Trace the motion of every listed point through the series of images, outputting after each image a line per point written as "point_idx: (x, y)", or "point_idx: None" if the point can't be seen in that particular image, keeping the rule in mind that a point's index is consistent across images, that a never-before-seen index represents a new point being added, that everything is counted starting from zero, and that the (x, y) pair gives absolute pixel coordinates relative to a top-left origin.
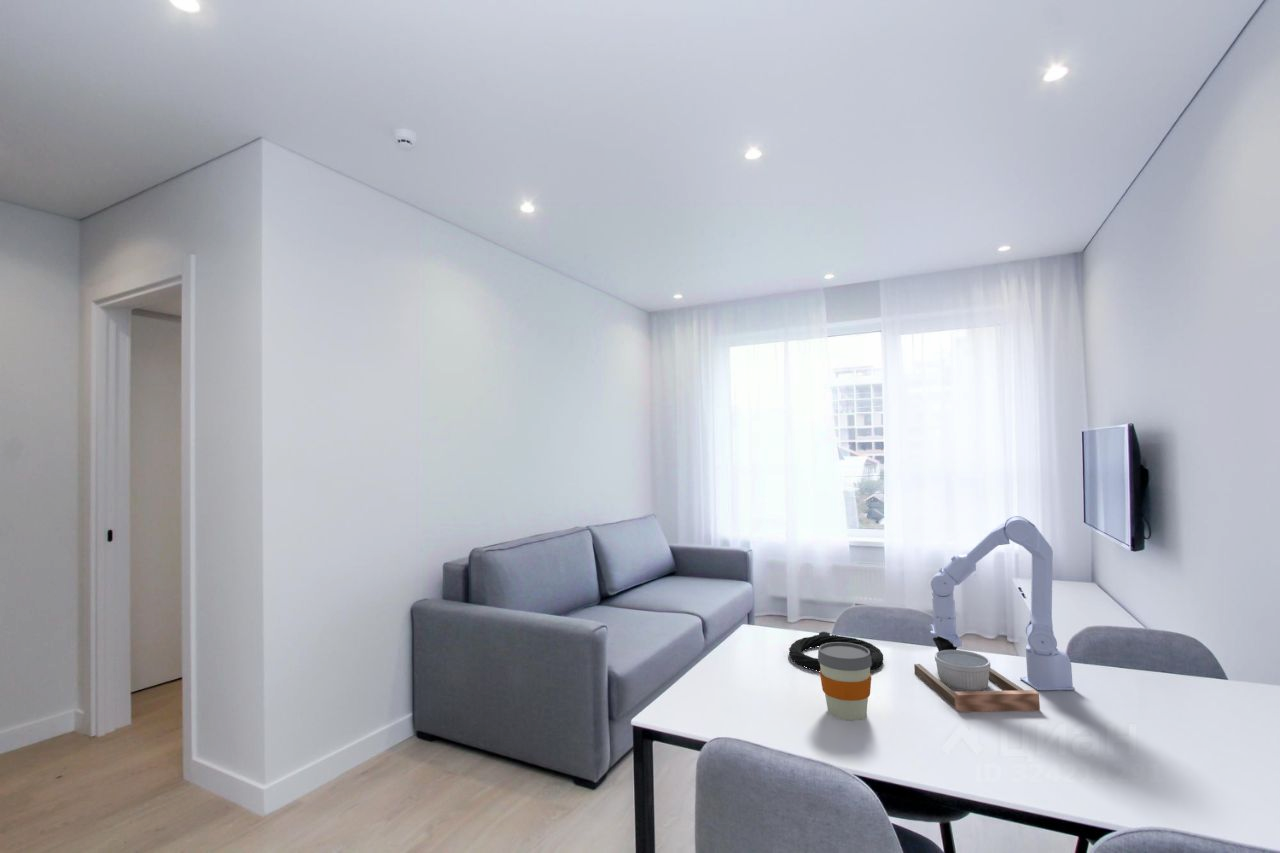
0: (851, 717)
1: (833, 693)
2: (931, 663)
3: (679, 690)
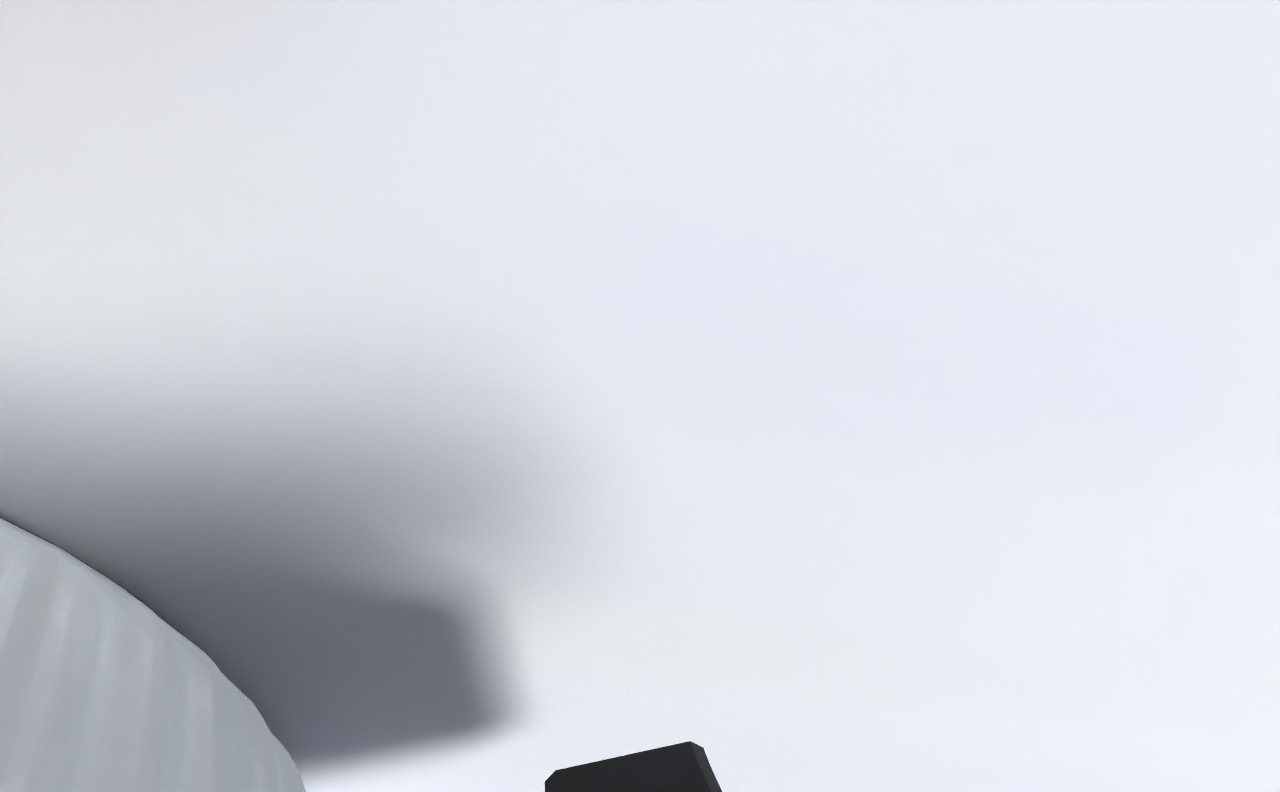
0: None
1: None
2: (1205, 428)
3: None
